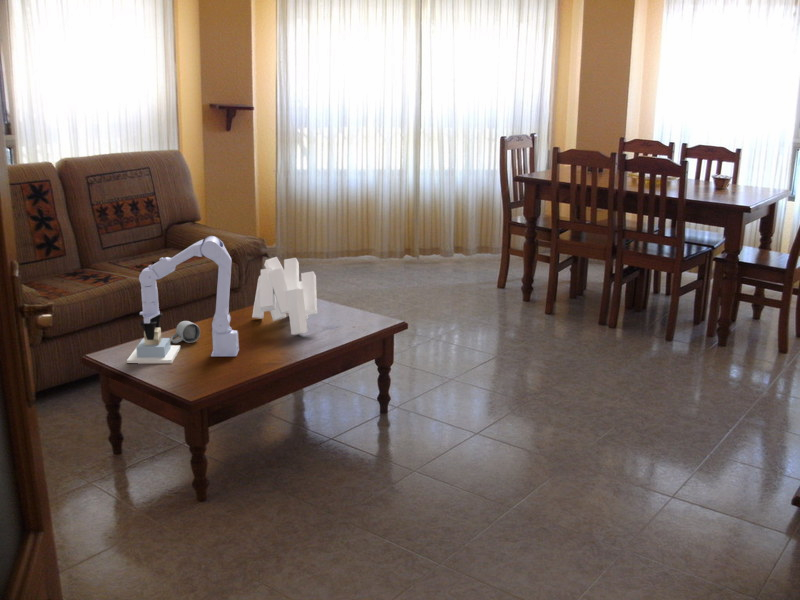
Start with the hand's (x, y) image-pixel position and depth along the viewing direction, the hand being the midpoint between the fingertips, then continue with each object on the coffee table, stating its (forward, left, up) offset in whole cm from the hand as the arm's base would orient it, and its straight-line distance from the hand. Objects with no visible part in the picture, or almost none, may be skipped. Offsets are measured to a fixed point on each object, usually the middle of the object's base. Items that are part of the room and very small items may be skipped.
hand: (152, 336), depth 307 cm
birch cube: (0, 0, -2) cm, 2 cm away
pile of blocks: (-46, -37, -8) cm, 60 cm away
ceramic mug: (-8, -17, -8) cm, 20 cm away
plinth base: (0, 0, -8) cm, 8 cm away
